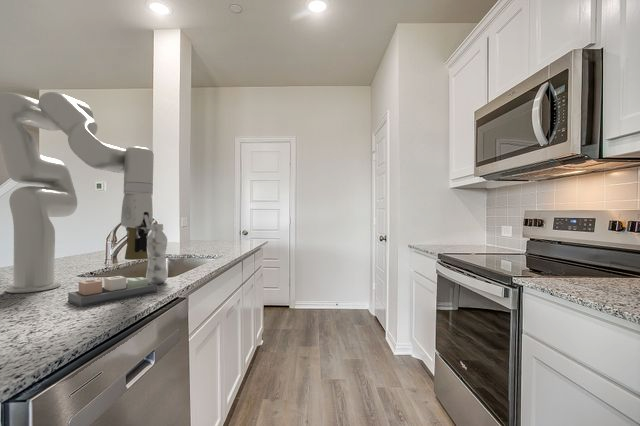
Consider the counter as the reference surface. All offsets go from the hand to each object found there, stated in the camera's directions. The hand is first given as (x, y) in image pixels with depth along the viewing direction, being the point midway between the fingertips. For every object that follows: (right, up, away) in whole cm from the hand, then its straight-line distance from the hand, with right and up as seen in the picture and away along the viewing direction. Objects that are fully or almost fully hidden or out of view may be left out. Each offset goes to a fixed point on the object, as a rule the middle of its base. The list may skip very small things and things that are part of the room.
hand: (136, 250), depth 94 cm
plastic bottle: (0, -13, +12) cm, 18 cm away
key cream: (-3, -10, -5) cm, 12 cm away
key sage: (0, -11, 0) cm, 12 cm away
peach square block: (-7, -10, -10) cm, 16 cm away
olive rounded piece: (0, -2, 0) cm, 2 cm away
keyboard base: (-3, -13, -5) cm, 14 cm away
